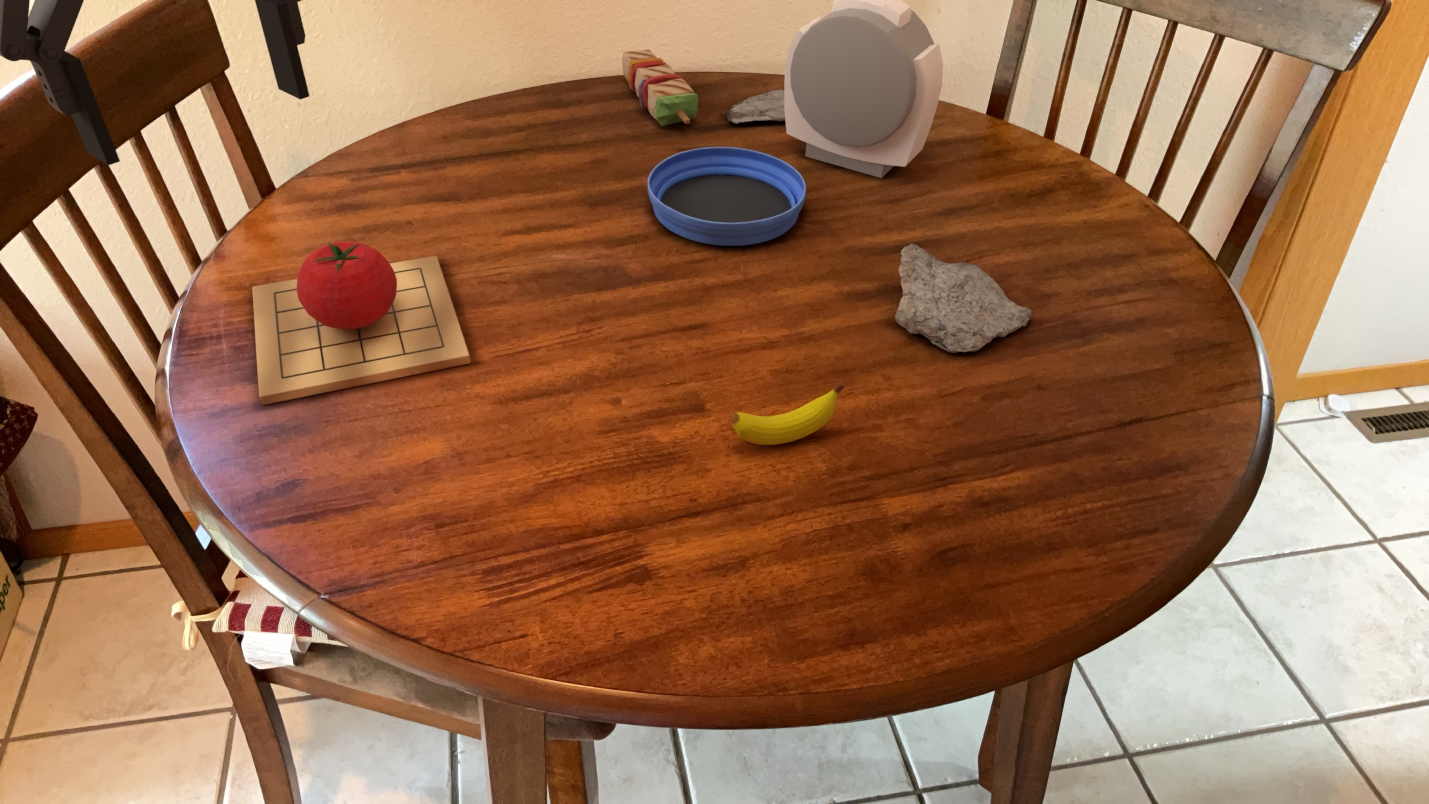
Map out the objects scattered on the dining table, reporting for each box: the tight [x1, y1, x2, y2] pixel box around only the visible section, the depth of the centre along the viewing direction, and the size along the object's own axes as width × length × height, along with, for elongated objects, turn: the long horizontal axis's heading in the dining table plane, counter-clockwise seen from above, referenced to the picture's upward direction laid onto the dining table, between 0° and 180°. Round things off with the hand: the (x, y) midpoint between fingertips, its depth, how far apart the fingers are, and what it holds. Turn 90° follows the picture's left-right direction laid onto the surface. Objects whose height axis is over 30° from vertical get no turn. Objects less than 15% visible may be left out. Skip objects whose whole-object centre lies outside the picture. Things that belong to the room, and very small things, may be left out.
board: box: [251, 255, 471, 406], centre depth 93 cm, size 18×18×1 cm
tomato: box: [296, 241, 397, 330], centre depth 90 cm, size 9×9×8 cm
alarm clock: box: [783, 0, 944, 179], centre depth 117 cm, size 18×8×20 cm, turn 59°
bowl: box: [646, 146, 807, 247], centre depth 112 cm, size 18×18×4 cm
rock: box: [894, 243, 1032, 354], centre depth 98 cm, size 14×4×15 cm
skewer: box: [621, 49, 699, 127], centre depth 132 cm, size 21×6×5 cm, turn 22°
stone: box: [725, 88, 786, 125], centre depth 135 cm, size 21×10×1 cm, turn 103°
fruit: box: [729, 382, 845, 446], centre depth 82 cm, size 10×2×5 cm, turn 110°
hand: (205, 123), depth 66 cm, fingers open, 13 cm apart
